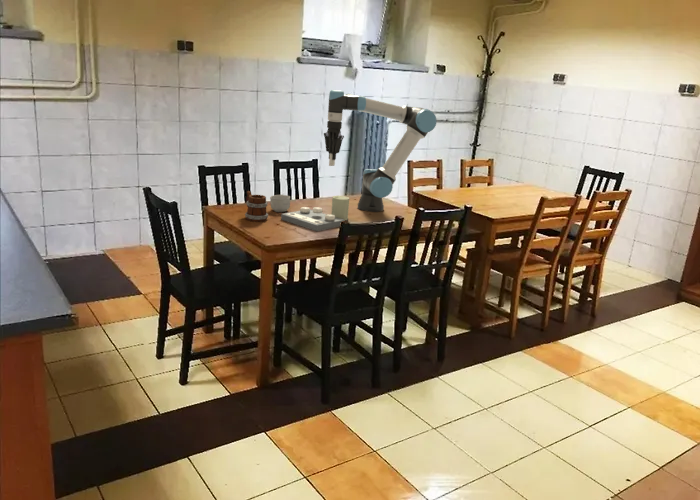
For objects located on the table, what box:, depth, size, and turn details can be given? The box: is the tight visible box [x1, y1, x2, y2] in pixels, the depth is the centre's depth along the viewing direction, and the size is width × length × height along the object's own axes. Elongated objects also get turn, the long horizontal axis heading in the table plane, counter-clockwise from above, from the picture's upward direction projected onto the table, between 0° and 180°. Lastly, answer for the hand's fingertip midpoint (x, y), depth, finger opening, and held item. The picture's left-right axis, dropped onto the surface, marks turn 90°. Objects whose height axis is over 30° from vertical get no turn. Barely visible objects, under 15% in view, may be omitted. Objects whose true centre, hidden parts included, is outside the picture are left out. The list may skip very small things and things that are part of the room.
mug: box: [244, 190, 269, 223], centre depth 301 cm, size 12×14×15 cm
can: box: [330, 195, 350, 221], centre depth 314 cm, size 9×9×12 cm
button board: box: [280, 208, 346, 232], centre depth 304 cm, size 20×26×3 cm
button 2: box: [325, 213, 335, 221], centre depth 300 cm, size 5×5×2 cm
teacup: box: [269, 194, 291, 213], centre depth 323 cm, size 14×11×8 cm
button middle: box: [312, 206, 323, 213], centre depth 305 cm, size 5×5×2 cm
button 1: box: [299, 206, 311, 213], centre depth 311 cm, size 5×5×2 cm
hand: (331, 165), depth 317 cm, fingers closed
